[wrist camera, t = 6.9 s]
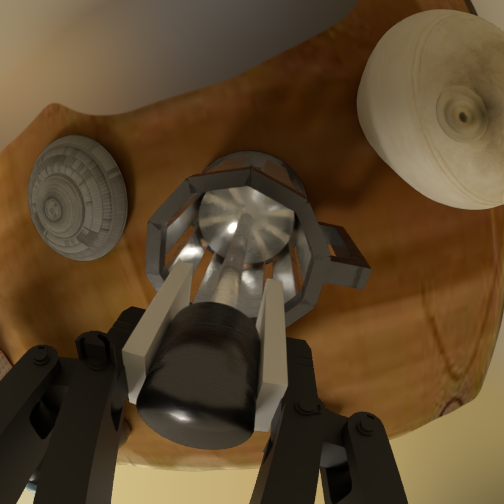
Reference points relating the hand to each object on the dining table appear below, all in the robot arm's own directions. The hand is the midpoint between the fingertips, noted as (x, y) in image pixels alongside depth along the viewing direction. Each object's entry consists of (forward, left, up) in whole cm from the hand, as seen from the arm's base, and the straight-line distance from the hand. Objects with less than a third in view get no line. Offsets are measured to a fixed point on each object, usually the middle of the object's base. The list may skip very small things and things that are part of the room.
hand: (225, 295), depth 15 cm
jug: (+14, +14, -17) cm, 26 cm away
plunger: (0, 0, -13) cm, 13 cm away
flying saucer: (-20, -2, -17) cm, 26 cm away
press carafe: (+2, 0, -17) cm, 17 cm away
